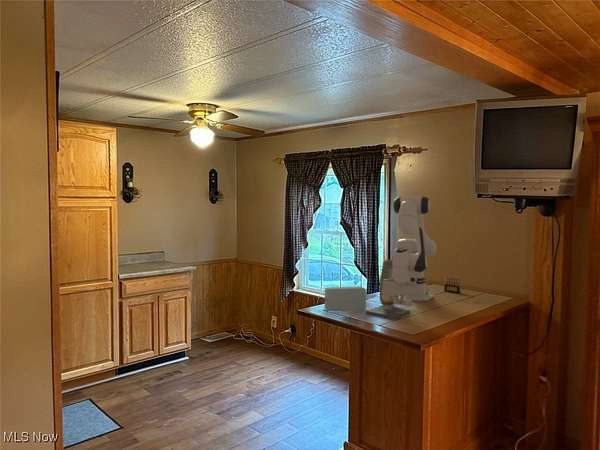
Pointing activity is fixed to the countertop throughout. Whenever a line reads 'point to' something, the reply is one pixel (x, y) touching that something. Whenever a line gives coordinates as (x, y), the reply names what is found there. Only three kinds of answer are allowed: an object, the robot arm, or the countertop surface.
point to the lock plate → (388, 312)
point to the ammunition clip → (452, 284)
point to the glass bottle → (385, 275)
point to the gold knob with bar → (395, 301)
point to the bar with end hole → (345, 298)
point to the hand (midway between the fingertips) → (399, 303)
